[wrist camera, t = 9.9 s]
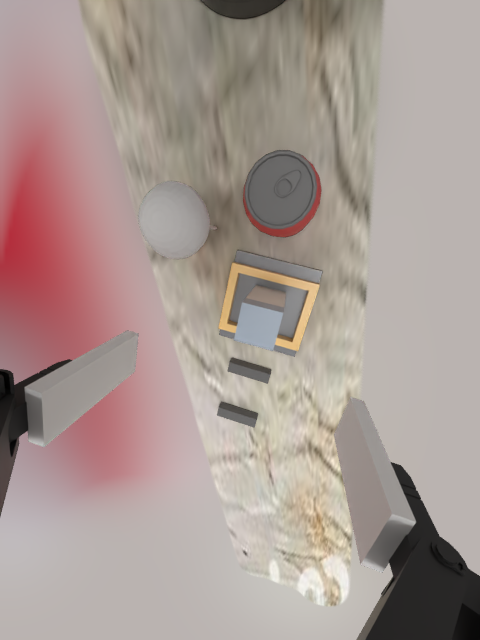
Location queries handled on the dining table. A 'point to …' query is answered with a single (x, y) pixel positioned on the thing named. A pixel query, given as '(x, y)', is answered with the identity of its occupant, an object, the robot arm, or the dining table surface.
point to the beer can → (282, 193)
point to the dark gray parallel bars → (250, 372)
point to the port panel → (277, 276)
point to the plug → (260, 317)
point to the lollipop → (174, 220)
